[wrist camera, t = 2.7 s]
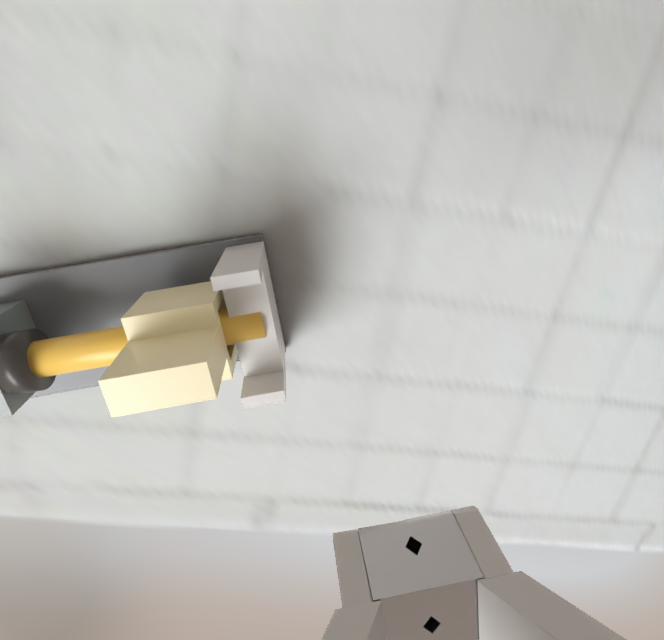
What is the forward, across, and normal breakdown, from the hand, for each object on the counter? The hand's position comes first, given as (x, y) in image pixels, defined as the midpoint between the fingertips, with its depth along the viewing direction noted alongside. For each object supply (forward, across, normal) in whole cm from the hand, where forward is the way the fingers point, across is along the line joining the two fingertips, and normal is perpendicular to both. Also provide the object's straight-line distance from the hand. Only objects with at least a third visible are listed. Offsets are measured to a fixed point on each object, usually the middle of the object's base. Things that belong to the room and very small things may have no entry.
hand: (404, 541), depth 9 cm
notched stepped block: (+16, +7, 0) cm, 18 cm away
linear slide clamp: (+18, +10, 0) cm, 21 cm away
